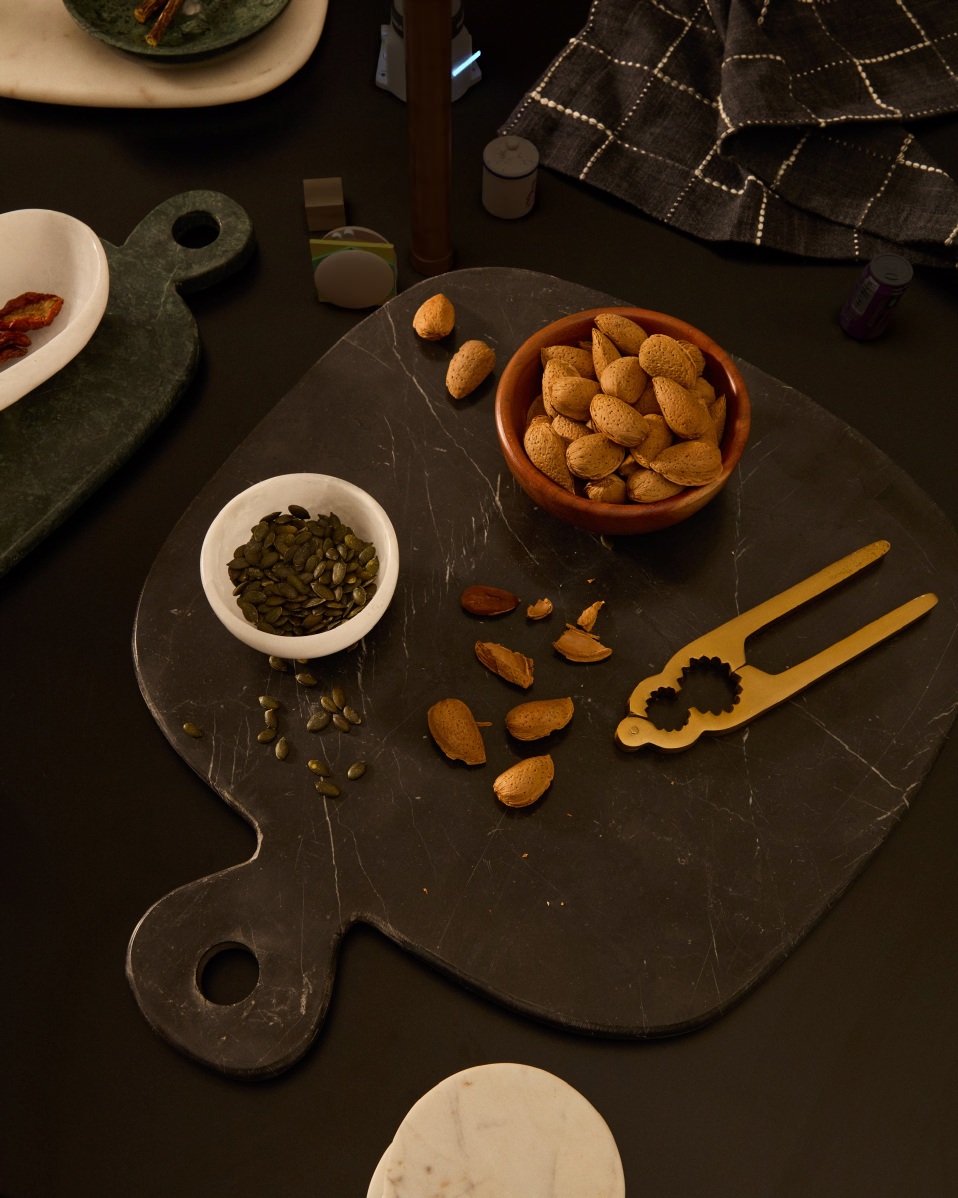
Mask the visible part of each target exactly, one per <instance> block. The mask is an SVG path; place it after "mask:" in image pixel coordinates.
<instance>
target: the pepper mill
mask: <svg viewBox="0 0 958 1198" xmlns="http://www.w3.org/2000/svg"><path fill="white" fill-rule="evenodd" d="M402 9H403V33H404V57H405V80H406V102H405V104H406V124H407V125H406V126H407V128H406V129H407V147H408V148H407V149H408V172H409V175H408V176H409V194H410V195H409V196H410V197H409V198H410V218H411V221H410V223H411V241H410V242H409V254H410V255H409V256H410V257H409V258H410V265H411V266H412V268H413V269H414V270H415V272H418V274H421V275H424V276H427V277H436V275H437V276H440V275H439V274H441V273H443V274H445V273H447V272H448V271H449V270H450V269H451V268H452V266H453V264H454V243H453V240H452V105H453V104H452V103H453V102H452V0H402ZM444 272H445V273H444ZM441 275H442V274H441Z"/></svg>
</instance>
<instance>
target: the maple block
mask: <svg viewBox="0 0 958 1198" xmlns="http://www.w3.org/2000/svg"><path fill="white" fill-rule="evenodd" d="M302 181H303V196H304V208H305V215H306V221H307V227H308V232H319V231H333V230H335V229H338V228H341V227H347V218H346V209H345V199H344V190H343V183H342V177H340V176H338V177H337V176H335V177H324V178H307V179H303V180H302Z"/></svg>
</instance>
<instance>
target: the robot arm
mask: <svg viewBox="0 0 958 1198" xmlns="http://www.w3.org/2000/svg"><path fill="white" fill-rule="evenodd" d="M464 22H465V8H464V1H463V0H452V103H454V102H456V101H457V100H459V99H460V98H462V97H463V96H464V95H465V93H466V92H467V91H468V89H470V88H471V87H472V86H474V85H475V84H478V83H479V82H480V81H481V80H482V79H483V78H482V70H481V69H480V67H479V65H478V62H477V60H476V59H477V58H479V56H481V51H480V50H478V51H477V52H476V53H474V54H473V39H472V35H471V34H470V33H469V30H468V29H467V27H466V26H465V24H464ZM380 39H381V45H380V49H379V50H380V51H379V56H378V62H377V68H376V74H375V86H377V87H378V88H380V89H382V90H385V91H387V92H388V91H389V92H390V93H391V94H393V95H394V96H395V97H397V98H398V99H399V100H400V101H403V102H405V103H406V80H405V57H404V33H403V9H402V0H391V7H390V22H389V24H381V25H380Z"/></svg>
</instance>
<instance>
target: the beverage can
mask: <svg viewBox="0 0 958 1198" xmlns="http://www.w3.org/2000/svg"><path fill="white" fill-rule="evenodd" d="M913 275H914V268H913V266H912V264H911V263H910V262H909V260H907V259H906V258H905V257H903V256H902V255H900V254H897V253H894V252H881V253H879V254H877V255H875V256H874V257H873V258H872V259H871V261H870V262H868V263H867V264H866V265H865V266H864V267H863V269H862V271H861V272H860V274H859V277H858V278H857V281H856V283H855V284H854V285H853V288H852V290H851V291H850V294H849V296H848V297H847V300H846V302H845V304H844V305H843V307H842V309H841V311H840V312H839V319H838V321H839V324H840V326H841V328H842V329H843V330H844V332H845V333H847V334H848V335H850V336H852V337H853V338H856V339H859V340H866V341H867V340H873V339H877V338H878V337H880V336H882V334H883V333H884V331H885V329H886V328H887V326H888V324H889V323H890V321H891V320H892V318H893V317H894V314H895V313H896V311H897V309H898V308H899V307H900V304H901V303H902V301H903V299H904V298H905V296H906V295H907V293H908V291H909V289H910V288H911V283H912V277H913Z"/></svg>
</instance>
